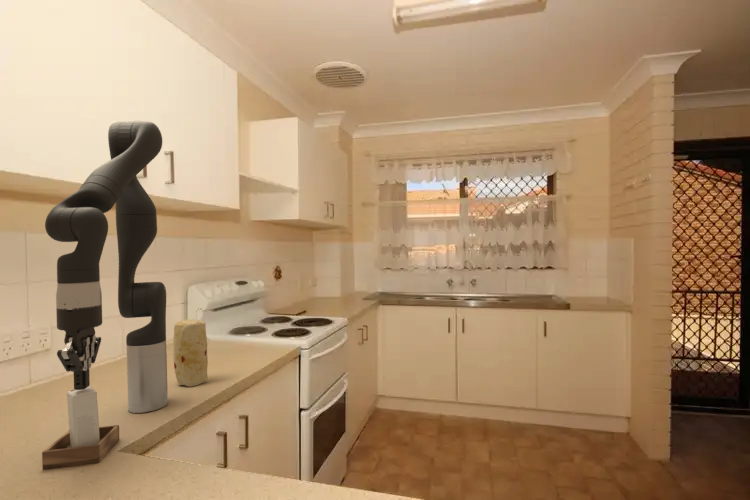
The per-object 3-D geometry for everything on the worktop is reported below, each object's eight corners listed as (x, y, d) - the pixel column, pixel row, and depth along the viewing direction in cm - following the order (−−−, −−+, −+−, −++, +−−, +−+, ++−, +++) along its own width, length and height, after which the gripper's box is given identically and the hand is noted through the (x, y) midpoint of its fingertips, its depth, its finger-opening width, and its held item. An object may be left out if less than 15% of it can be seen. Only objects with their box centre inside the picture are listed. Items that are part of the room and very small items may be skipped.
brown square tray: (69, 445, 85) (69, 430, 85) (119, 439, 87) (119, 424, 87) (42, 469, 76) (42, 452, 76) (98, 462, 78) (98, 445, 78)
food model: (209, 379, 127) (208, 317, 127) (206, 386, 121) (204, 320, 121) (176, 382, 125) (175, 319, 125) (171, 389, 119) (169, 323, 119)
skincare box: (101, 449, 81) (99, 391, 81) (74, 458, 78) (72, 397, 78) (93, 440, 86) (92, 384, 86) (68, 448, 82) (66, 390, 82)
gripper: (75, 301, 87) (78, 380, 87) (38, 310, 74) (41, 402, 74) (114, 299, 89) (116, 377, 89) (84, 307, 76) (86, 398, 76)
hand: (81, 388), depth 81 cm, fingers closed
